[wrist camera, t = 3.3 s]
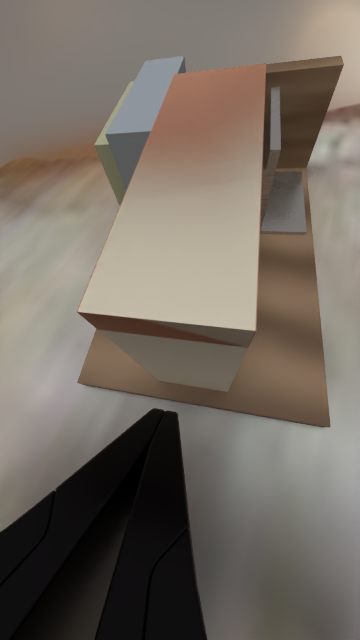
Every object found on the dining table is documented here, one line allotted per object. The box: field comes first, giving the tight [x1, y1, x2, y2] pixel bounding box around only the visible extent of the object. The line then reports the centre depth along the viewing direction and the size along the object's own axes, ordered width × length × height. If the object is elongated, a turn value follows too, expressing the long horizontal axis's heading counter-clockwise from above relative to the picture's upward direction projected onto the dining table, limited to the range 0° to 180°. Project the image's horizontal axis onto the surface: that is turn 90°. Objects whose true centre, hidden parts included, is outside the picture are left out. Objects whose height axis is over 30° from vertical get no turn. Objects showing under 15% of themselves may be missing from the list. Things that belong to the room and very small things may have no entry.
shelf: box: [77, 56, 344, 427], centre depth 16 cm, size 25×16×8 cm, turn 170°
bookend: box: [260, 87, 307, 235], centre depth 17 cm, size 8×4×6 cm, turn 170°
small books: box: [94, 56, 186, 205], centre depth 18 cm, size 10×5×8 cm, turn 170°
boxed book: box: [77, 64, 266, 392], centre depth 13 cm, size 14×4×10 cm, turn 170°
